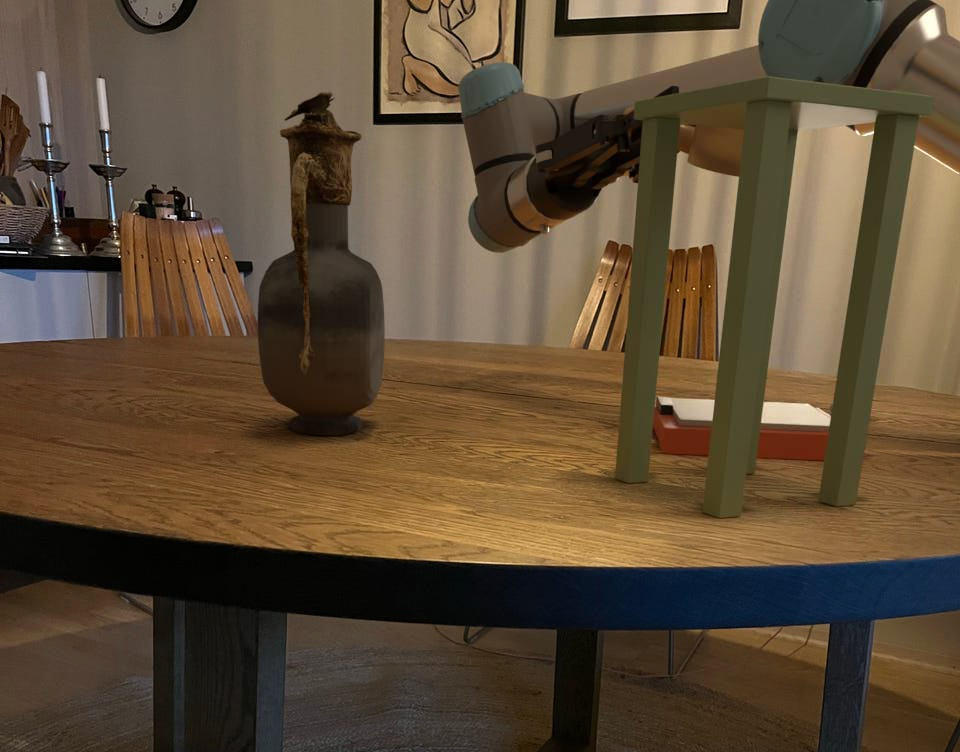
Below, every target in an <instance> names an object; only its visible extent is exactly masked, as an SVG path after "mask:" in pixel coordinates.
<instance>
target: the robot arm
mask: <svg viewBox="0 0 960 752" xmlns="http://www.w3.org/2000/svg"><path fill="white" fill-rule="evenodd" d="M758 27H759V28H758V33H757V43H758V44H757V45H754V46H753V45H752V46H750V47H746V48H742V49H738V50H734V51H731V52H727V53H722V54H719V55H716V56H712V57H708V58H705V59H700V60H697V61H694V62H689V63H686V64H682V65H678V66H674V67H670V68H668V69H667V68H666V69H663V70H660V71H655V72H652V73H648V74H644V75H641V76H638V77H634V78H633V77H632V78H630V79H626V80H621V81H619V82H614V83H612V84H607V85H604V86H600V87H596V88H593V89H588V90H586V91H583V92H580V93H579V92H578V93H575V94H571V95H566V96H563V97H559V98H549V97H544V96H541V95H536V94H532V93H528V92H525V89H524V88H525V84H524V82H523V79H522V76H521V73H520V70H519V69H518V67H517V66H516V65H515V64H513V63H510V62H503V61H502V62H492V63H488V64H484V65H481V66H478V67H476V68H474V69H471V70H470V71H468V72H467V73H466V74H464V75H463V76H462V77H461V79H460V80H459V83H458V86H457V87H458V95H459V96H458V97H459V103H460V111H461V113H460V117H461V119H462V123H463V128H464V132H465V138H466V142H467V147H468V152H469V156H470V160H471V166H472V170H473V174H474V182H475V183H474V184H475V188H476V193H477V195H476V196H475V197H474V199H473V201H472V202H471V204H470V207H469V209H468V216H467V223H468V228H469V231H470V234H471V235H472V237H473V239H474V240H475V242H477V244H478V245H479V246H480V247H482V248H483V249H485V250H487V251H489V252H492V253H497V254H498V253H501V254H503V253H506V252H507V253H508V252H509V251H512V250H514V249H516V248H519V247H523V246H525V245H527V244H528V243H529V242H530V241H533V240H534V239H536V238H537V237H539V236H541V235H547V234H549V232H550V230H551V229H553V228H555V227H556V226H559V225H560V224H562V223H564V222H566V221H568V220H570V219H572V218H574V217H576V216H578V215H579V214H582V213H584V212H585V211H587V210H588V209H590V208H591V207H592V206H593V205H595V203H596V201H597V200H598V198H599V196H600V193H601V192H602V191H603V188H606V187H607V186H609V185H611V184H614V183H616V182H617V181H618V180H619V178H622V177H628V179H629V180H632V183H633V184H638V176H639V163H640V150H641V137H642V124H643V120H636V119H634V110H633V111H631V112H630V113H628V114H627V115H625V114H623V113H624V112H625V111H626V110H627V109H628V108H629V107H633V106H635V101H640V100H645V99H651V98H656V97H661V96H667V95H672V94H677V93H683V92H688V91H693V90H699V89H704V88H709V87H715V86H720V85H725V84H731V83H736V82H742V81H747V80H752V79H758V78H763V77H768V76H770V77H778V78H787V79H795V80H803V81H812V82H820V83H829V84H837V85H845V86H854V87H862V88H870V89H879V90H887V91H895V92H904V93H912V94H920V95H929V96H933V97H934V98H933V104H932V110H931V115H930V116H924V117H919V121H918V128H917V134H916V140H915V146H914V148H916V149H917V150H919V151H921V152H922V153H924V154H925V155H927V156H929V157H930V158H932V159H933V160H935V161H937V162H939V163H940V164H942V165H943V166H945V167H946V168H948V169H950V170H951V171H952V172H955V173H956V174H958V175H960V40H959V39H957V38H956V37H954V36H951V35H950V34H949V31H948V24H947V14H946V9H944V6H941V5H940V4H938V3H936V2H934V1H933V0H768V1H767V2H766V4H765V6H764V10H763V12H762V15H761V18H760V22H759V26H758ZM687 125H690V124H687ZM690 126H693V127H696V125H690ZM845 127H847V128H848V129H850V130H852V132H855V133H856V134H858V135H859V136H861V137H864V136H865V137H866V136H868V135H872V134H874V127H875V122H872V123H863V124H855V125H846V126H845ZM679 153H681V151H679V150H678V151H677V155H679Z"/></svg>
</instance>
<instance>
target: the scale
mask: <svg viewBox="0 0 960 752" xmlns="http://www.w3.org/2000/svg"><path fill="white" fill-rule="evenodd" d="M714 401H715V399H706V398H682V397H681V398H678V397H668V396H656V398H655V409H654V420H653V430H654V433H655V435H656V437H657V438H656V439H655V440H656V442H657V444H658V446H659V449H660V451H661V453H662V454H668V455H687V456H688V455H691V456H708V455H709V446H710V437H711V428H712V419H713V410H714ZM830 420H831V416H830V415H829V414H828V413H827V412H826V411H824V410H822V409H821V408H819V407H813V406H812V405H811V404H810V403H802V402H800V403H798V402H780V401H779V402H776V401H764V403H763V411H762V419H761V427H760V434H759V442H758V450H757V458H758V459H777V460H779V459H780V460H799V461H800V460H801V461H820V462H821V461H823V462H824V459H825V453H826V446H827V440H828V433H829V426H830ZM757 458H756V459H757Z"/></svg>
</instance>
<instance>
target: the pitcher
mask: <svg viewBox="0 0 960 752" xmlns="http://www.w3.org/2000/svg"><path fill="white" fill-rule="evenodd" d="M333 95H334V94H333V93H332V92H331V91H329V92H326V91H325V92H324V91H323V92H319V93H318V94H317V95H315V96H313V97H311V98H307V99H305V100H304V101H301V102H300V103H299V104H298V105H297V108H294V109H293V110H292V112H291V113H290V114H289V115H287V116H286V117H285V118H284V121H285V122H286V121H289V120H290V119H293V118H295V117H296V116H299V115H303V116H304V117H303V118H302V119H301V121H300V122H299V124H295V125H294V126H290V127H286V128H282V129H280V130H279V135H280V137H282V138H285V139H286V140H287V146H288V155H289V156H288V157H289V182H290V183H289V184H290V185H289V187H290V214H291V231H290V232H291V233H290V234H291V235H290V236H291V239H292V241H293V247H294V248H293V250H291V251H290V252H288V253H286V254H284V255H282V256H280V257H278V258H275V259H274V260H273V261H271V262H270V264H269V266H268V268H267V269H266V270H265V272H264V274H263V277H262V280H261V281H260V284H259V287H258V299H257V300H258V301H257V339H258V340H257V343H258V356H259V363H260V370H261V371H260V372H261V377H262V382H263V384H264V386H265V388H266V390H267V391H268V393H269V395H270V396H271V397H272V398H273V399H274V401H276V402H277V403H278V404H280V405H282V406H283V407H286V408H288V409H289V410H292V412H294V413H296V414H297V415H296V416H293V417H292V418H291V419H290V421H289V428H290V430H291V431H293V432H295V433H296V434H301V435H306V436H319V437H332V436H333V437H335V436H346V435H351V434H356V433H358V432H359V431H361V430H362V429H363V420H362V418H360V417H359V416H356V413H357V412H359V411H361V410H363V409H365V408H368V407H370V406H372V404H373V403H374V402H375V400H376V398H377V396H378V394H379V392H380V390H381V386H382V382H383V375H384V363H385V361H384V360H385V337H386V335H385V332H386V331H385V330H386V329H385V305H384V304H385V302H384V291H383V285H382V280H381V278H380V276H379V274H378V271H377V270H376V268H375V267H374V266H373V264H372V263H371V262H369V261H368V260H366V259H364V258H363V257H360V256H359V255H356V254H355V253H353V252H352V251H351V250H350V248H349V206H351V202H352V194H353V179H352V178H353V177H352V155H353V149H354V146H355V144H356V143H357V142H359V141H361V140H362V139H363V137H362V134H361V133H359V132H357V131H355V130H354V131H353V130H343V129H342V128H341V127H340V126H339V124H338V122H337V121H336V119H335V116H334V113H333V112H332V111H331V110H329V109H328V108H329V107H330V106H331V104H330V103H331V102H332V101H334V100H335V99H336V97H333V98H332V96H333Z"/></svg>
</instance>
